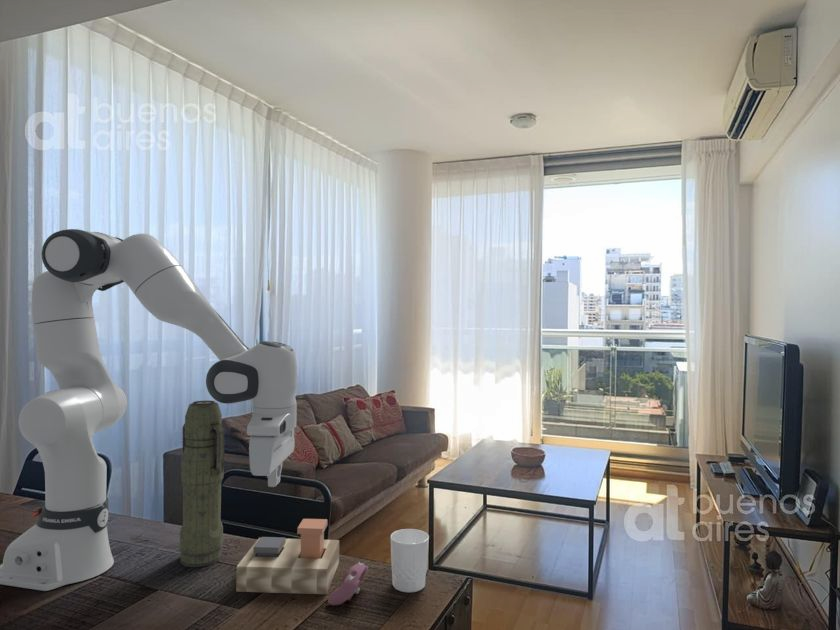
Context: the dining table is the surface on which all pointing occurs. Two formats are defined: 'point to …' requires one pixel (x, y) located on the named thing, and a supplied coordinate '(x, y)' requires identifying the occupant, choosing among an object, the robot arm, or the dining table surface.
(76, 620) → the dining table surface
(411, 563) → the white cup
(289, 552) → the socket block
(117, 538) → the dining table surface
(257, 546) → the charcoal plug
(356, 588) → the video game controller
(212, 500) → the thermos
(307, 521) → the terracotta plug
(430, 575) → the dining table surface
